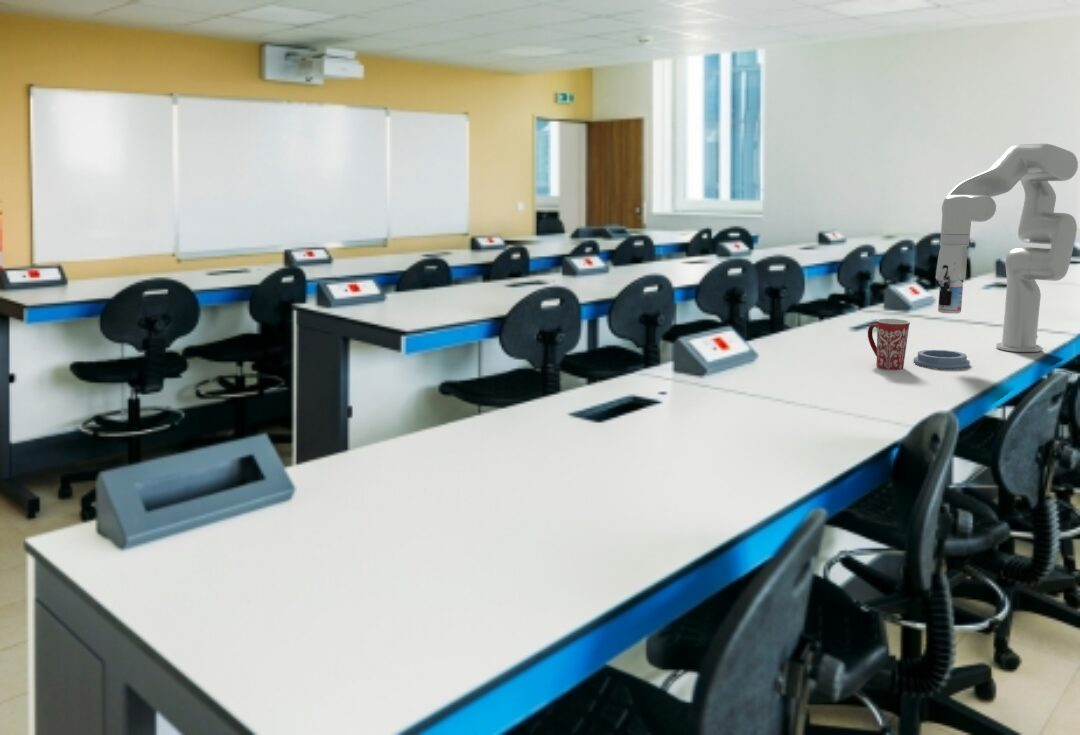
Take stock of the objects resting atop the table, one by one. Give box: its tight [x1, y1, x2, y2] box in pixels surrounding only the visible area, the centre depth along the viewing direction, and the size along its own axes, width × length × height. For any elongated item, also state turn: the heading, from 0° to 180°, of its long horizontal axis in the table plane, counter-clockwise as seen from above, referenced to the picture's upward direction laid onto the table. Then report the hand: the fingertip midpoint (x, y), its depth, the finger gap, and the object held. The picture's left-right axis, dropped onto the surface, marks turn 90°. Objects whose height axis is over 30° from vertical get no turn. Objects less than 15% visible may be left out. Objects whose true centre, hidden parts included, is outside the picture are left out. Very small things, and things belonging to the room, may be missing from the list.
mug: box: [867, 318, 911, 371], centre depth 270 cm, size 13×9×14 cm
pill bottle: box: [937, 274, 964, 315], centre depth 269 cm, size 6×6×11 cm
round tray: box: [913, 349, 971, 370], centre depth 273 cm, size 15×15×3 cm
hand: (949, 303), depth 269 cm, fingers closed on pill bottle, 6 cm apart
